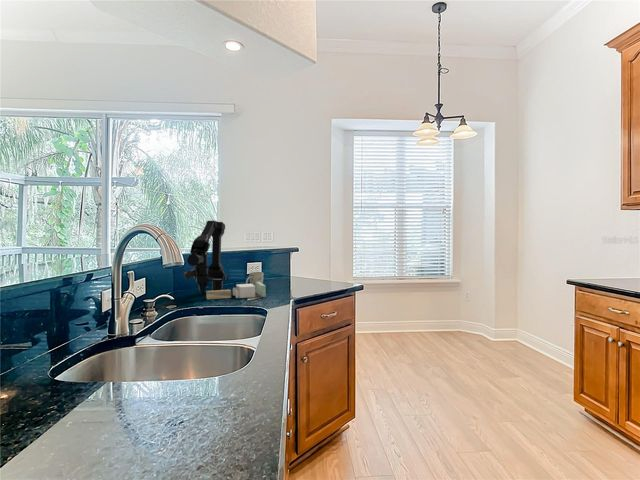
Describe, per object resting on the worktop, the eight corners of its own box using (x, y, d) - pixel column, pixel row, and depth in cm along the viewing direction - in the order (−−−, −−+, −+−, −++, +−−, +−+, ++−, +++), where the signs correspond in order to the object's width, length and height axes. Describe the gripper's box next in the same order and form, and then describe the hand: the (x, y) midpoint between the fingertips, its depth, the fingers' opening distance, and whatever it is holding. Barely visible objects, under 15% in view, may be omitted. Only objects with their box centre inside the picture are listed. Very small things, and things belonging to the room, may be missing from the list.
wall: (255, 292, 207) (255, 282, 207) (259, 292, 208) (259, 281, 208) (261, 297, 194) (261, 285, 194) (265, 296, 195) (265, 285, 195)
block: (232, 295, 200) (232, 284, 200) (251, 293, 204) (251, 283, 204) (236, 298, 191) (235, 287, 191) (255, 296, 195) (255, 286, 195)
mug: (266, 289, 218) (266, 272, 217) (252, 292, 207) (251, 274, 207) (256, 288, 222) (256, 271, 222) (241, 291, 212) (240, 273, 211)
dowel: (206, 298, 191) (206, 291, 191) (229, 296, 196) (229, 289, 196) (207, 300, 188) (207, 292, 188) (231, 298, 193) (230, 290, 193)
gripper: (183, 262, 194) (184, 292, 195) (185, 266, 177) (186, 299, 177) (205, 262, 198) (206, 291, 199) (209, 265, 181) (210, 297, 182)
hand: (201, 294), depth 189 cm, fingers closed
